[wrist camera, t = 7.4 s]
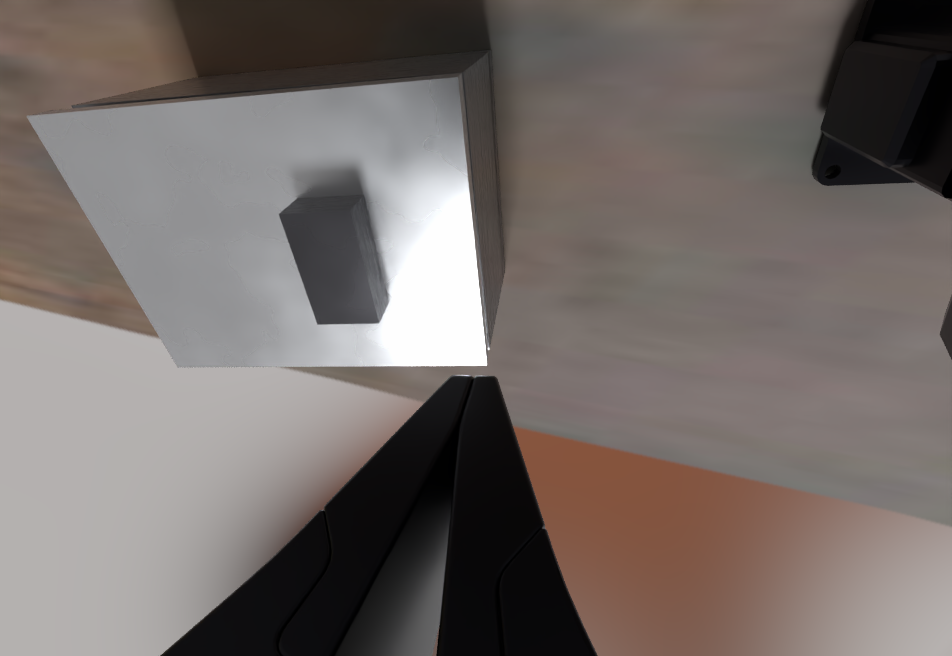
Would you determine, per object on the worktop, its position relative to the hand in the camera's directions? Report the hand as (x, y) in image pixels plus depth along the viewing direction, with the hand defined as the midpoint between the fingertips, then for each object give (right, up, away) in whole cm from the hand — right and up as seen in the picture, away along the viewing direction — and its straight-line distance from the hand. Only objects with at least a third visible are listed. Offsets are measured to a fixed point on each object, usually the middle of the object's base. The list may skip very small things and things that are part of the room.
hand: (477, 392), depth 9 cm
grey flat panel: (-6, +4, +7) cm, 10 cm away
